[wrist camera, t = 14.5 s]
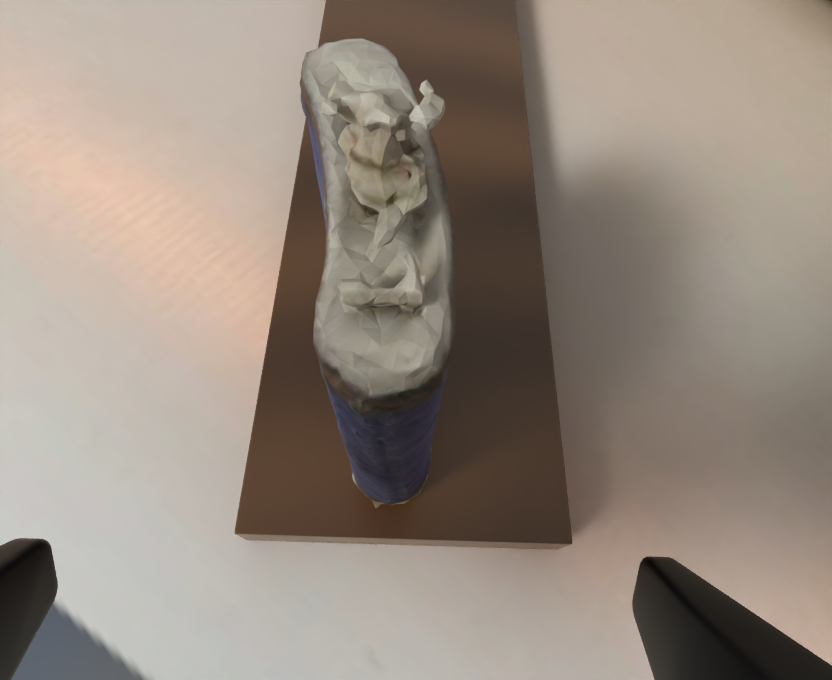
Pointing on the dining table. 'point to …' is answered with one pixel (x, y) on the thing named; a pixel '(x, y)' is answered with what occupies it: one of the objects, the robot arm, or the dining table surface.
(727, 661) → the robot arm
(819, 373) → the dining table surface
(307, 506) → the board
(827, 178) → the dining table surface
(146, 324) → the dining table surface
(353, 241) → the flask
